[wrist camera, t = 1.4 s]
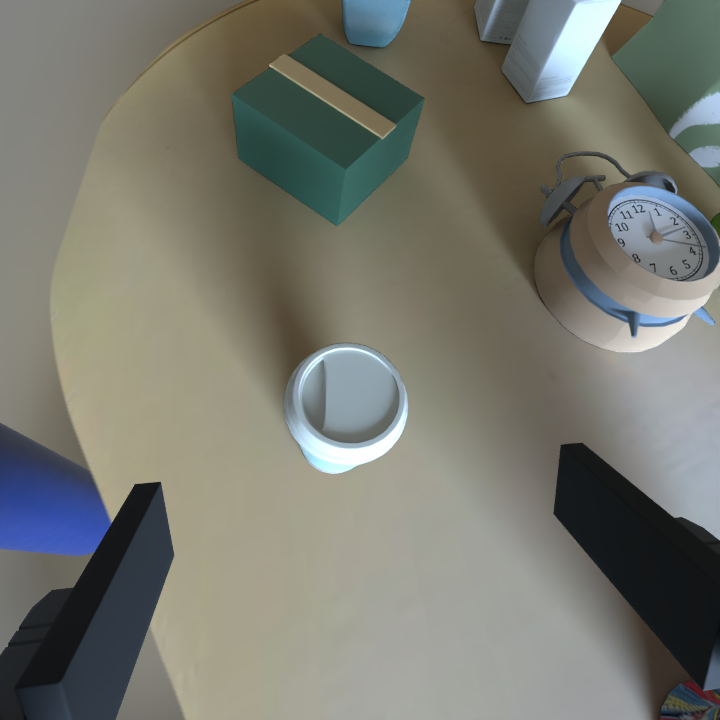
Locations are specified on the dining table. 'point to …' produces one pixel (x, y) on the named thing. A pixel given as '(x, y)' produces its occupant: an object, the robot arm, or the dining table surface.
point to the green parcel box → (325, 126)
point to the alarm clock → (625, 260)
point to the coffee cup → (345, 406)
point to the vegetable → (716, 223)
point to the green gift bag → (681, 75)
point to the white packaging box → (554, 45)
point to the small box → (499, 19)
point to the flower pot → (373, 20)
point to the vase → (691, 703)
